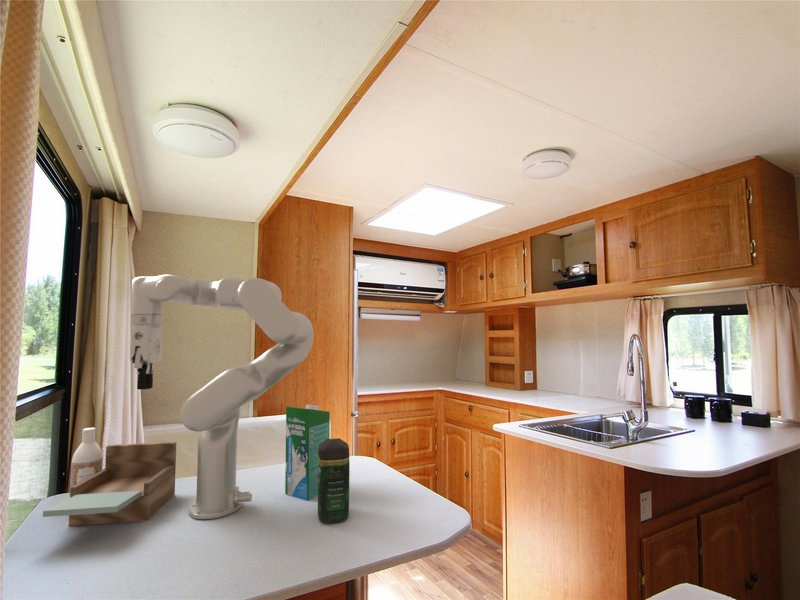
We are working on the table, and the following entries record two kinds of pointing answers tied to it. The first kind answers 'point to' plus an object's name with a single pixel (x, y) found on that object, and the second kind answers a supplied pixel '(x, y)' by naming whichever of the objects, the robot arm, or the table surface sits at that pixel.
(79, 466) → the bath foam
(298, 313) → the robot arm
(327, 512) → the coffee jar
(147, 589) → the table surface
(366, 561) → the table surface
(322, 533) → the table surface
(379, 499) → the table surface
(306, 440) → the milk carton
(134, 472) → the tray
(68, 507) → the panel
